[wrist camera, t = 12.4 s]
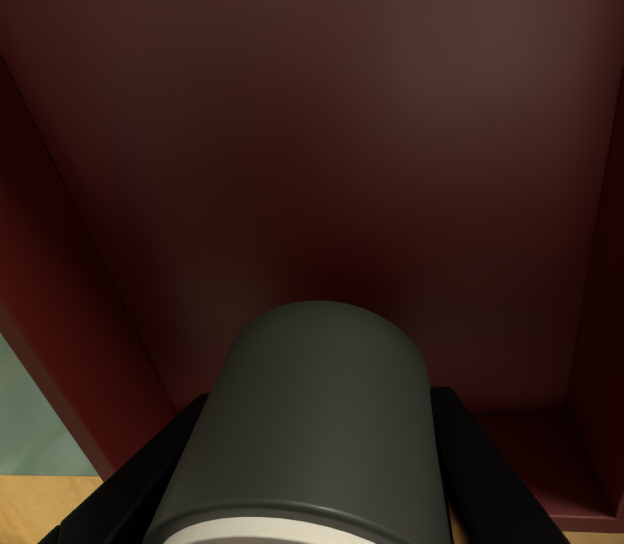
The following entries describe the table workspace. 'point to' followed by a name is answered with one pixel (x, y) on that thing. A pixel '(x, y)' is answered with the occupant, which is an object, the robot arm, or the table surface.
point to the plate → (33, 428)
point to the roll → (312, 439)
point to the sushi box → (323, 208)
